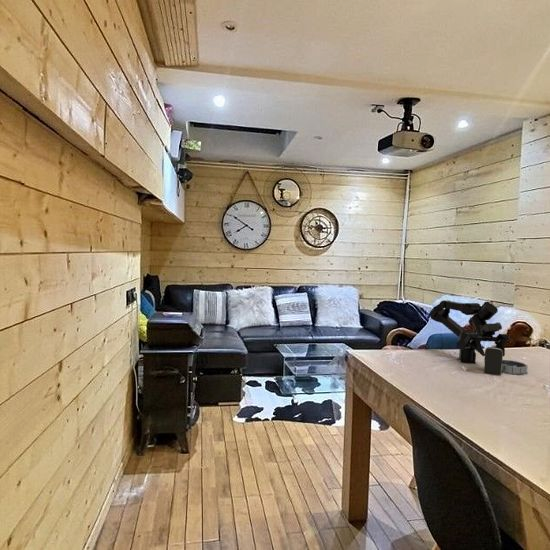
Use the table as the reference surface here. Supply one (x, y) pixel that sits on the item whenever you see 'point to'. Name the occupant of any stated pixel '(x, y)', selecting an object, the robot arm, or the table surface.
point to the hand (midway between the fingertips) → (494, 355)
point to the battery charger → (493, 360)
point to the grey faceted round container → (514, 367)
